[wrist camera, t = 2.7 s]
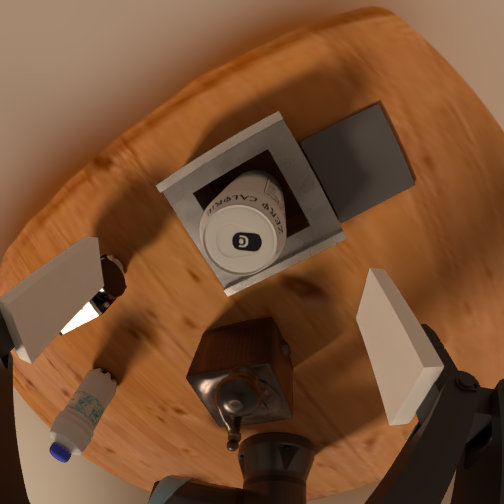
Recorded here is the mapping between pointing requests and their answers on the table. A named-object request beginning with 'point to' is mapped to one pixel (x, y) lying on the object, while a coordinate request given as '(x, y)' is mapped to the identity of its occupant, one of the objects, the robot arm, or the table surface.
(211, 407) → the brown manual coffee grinder
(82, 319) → the pneumatic valve
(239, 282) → the housing
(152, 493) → the vinegar
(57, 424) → the bottle
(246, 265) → the energy drink can
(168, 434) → the table surface
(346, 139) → the mat
